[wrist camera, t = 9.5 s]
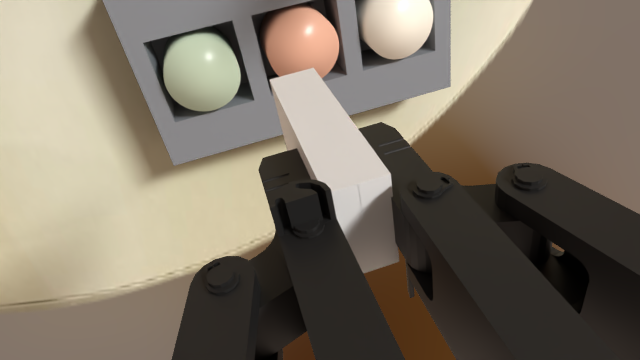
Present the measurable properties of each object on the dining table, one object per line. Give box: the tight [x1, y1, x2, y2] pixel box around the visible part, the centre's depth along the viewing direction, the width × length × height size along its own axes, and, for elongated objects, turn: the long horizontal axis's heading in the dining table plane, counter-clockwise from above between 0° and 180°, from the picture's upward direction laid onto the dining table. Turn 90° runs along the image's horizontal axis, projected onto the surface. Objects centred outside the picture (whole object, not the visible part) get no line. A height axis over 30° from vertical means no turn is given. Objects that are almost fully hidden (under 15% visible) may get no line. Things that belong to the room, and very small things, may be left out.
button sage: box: [163, 26, 241, 111], centre depth 39 cm, size 6×6×4 cm
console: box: [103, 0, 450, 166], centre depth 41 cm, size 15×27×5 cm, turn 100°
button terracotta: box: [260, 2, 339, 78], centre depth 40 cm, size 6×6×4 cm
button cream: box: [355, 0, 433, 59], centre depth 41 cm, size 6×6×4 cm
